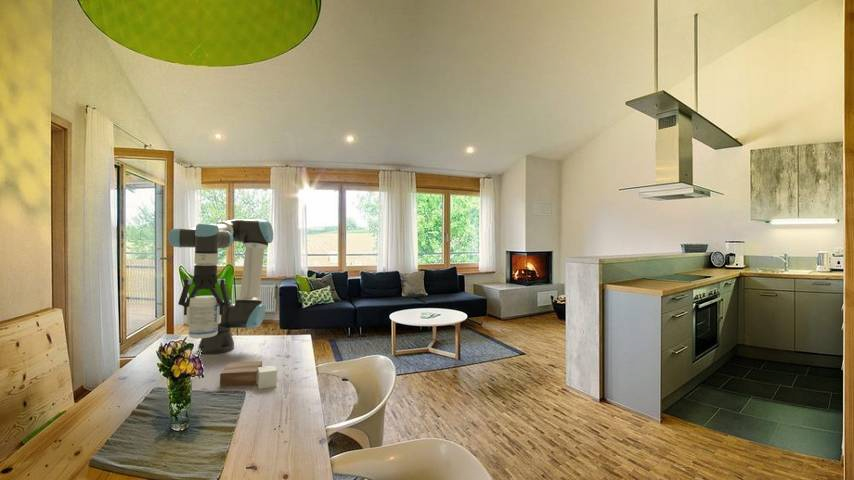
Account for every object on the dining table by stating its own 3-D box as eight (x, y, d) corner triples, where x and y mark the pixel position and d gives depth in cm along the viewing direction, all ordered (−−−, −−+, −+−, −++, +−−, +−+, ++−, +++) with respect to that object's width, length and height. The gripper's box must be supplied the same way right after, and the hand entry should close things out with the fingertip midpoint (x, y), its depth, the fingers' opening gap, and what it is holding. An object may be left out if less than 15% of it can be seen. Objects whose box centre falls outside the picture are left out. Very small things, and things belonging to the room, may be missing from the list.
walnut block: (229, 375, 147) (229, 362, 147) (261, 373, 150) (262, 361, 150) (219, 387, 135) (220, 373, 135) (255, 385, 138) (255, 371, 138)
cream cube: (257, 383, 140) (258, 367, 140) (274, 380, 143) (275, 365, 143) (258, 389, 135) (259, 372, 135) (276, 386, 138) (276, 370, 138)
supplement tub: (220, 336, 140) (221, 297, 140) (191, 340, 134) (192, 299, 134) (214, 331, 147) (215, 294, 147) (186, 335, 141) (187, 296, 141)
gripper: (168, 264, 135) (166, 326, 134) (234, 265, 139) (232, 325, 139) (177, 263, 142) (175, 321, 142) (240, 264, 147) (238, 321, 147)
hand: (203, 323), depth 141 cm, fingers closed on supplement tub, 9 cm apart
